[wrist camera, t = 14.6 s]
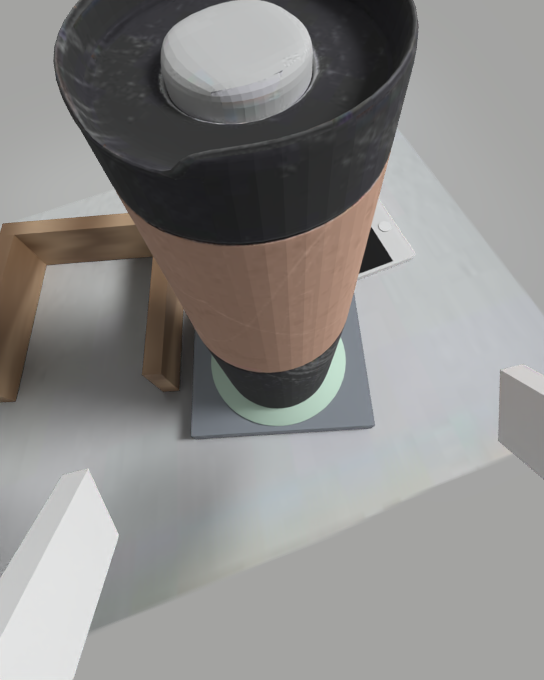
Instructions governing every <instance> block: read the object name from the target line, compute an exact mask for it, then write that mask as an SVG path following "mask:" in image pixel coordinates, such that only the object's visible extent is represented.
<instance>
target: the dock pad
mask: <svg viewBox="0 0 544 680" xmlns="http://www.w3.org/2000/svg"><path fill="white" fill-rule="evenodd" d="M373 426H375V422H374V416H373V409H372V403H371V397H370V390H369V384H368V378H367V371H366V365H365V359H364V353H363V346H362V340H361V334H360V327H359V321H358V315H357V308H356V302H355V296H354V294H353V298H352V301H351V305H350V309H349V313H348V316H347V320H346V323H345V326H344V329H343V332H342V334H341V337H340V340H339V343H338V345H337V348H336V351H335V354H334V357H333V359H332V362H331V365H330V368H329V370H328V373H327V375H326V377H325V380H324V381H323V383H322V385H321V386H320V388H319V389H318V390H317V391H316V392H315V393H314V394H313V395H312V396H311V397H310V398H308V399H307V400H305V401H304V402H302V403H300V404H298V405H295V406H292V407H287V408H278V409H277V408H267V407H263V406H260V405H257V404H255V403H253V402H251V401H249V400H248V399H246V398H245V397H244V396H243V395H242V394H240V393H239V391H238V390H237V389H236V388H235V387H234V385H233V384H232V383H231V381H230V380H229V378H228V377H227V376H226V374H225V373H224V371H223V370H222V369H221V367H220V366H219V364H218V363H217V361H216V360H215V359H214V357H213V356H212V354H211V353H210V351H209V350H208V349H207V347H206V346H205V344H204V343H203V341H202V340H201V338H200V336H199V335H198V333H197V331H196V330H195V339H194V367H193V396H192V424H191V437H193V438H195V439H204V438H220V437H237V436H253V435H270V434H286V433H303V432H319V431H336V430H352V429H368V428H372V427H373Z"/></svg>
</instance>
